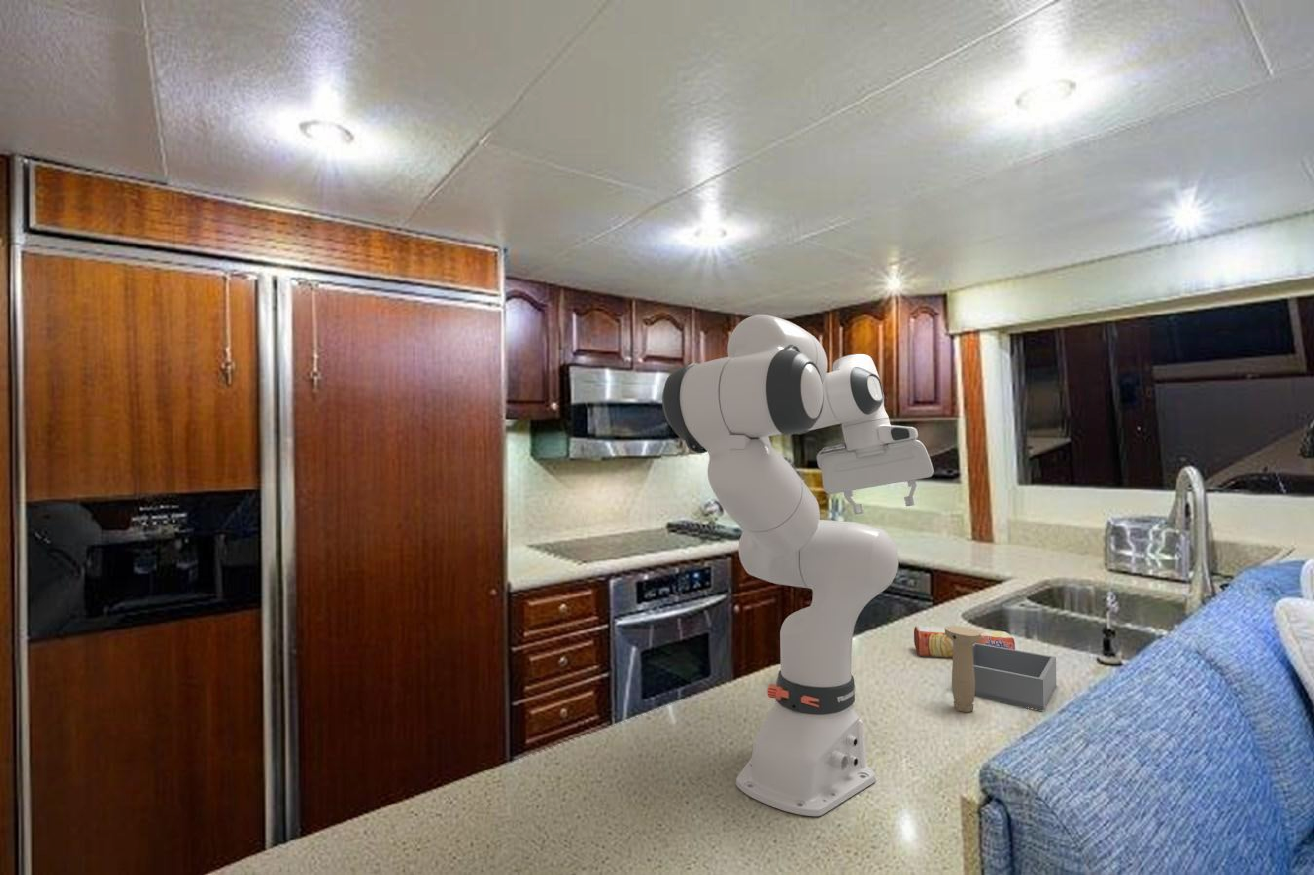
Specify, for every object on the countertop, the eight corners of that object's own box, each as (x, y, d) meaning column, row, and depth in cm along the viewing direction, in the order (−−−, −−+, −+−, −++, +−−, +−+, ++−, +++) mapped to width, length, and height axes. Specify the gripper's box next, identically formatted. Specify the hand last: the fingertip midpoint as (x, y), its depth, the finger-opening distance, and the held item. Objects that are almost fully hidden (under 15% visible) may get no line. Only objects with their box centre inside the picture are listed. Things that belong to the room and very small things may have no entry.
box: (1043, 711, 122) (1042, 679, 122) (952, 691, 132) (952, 662, 132) (1056, 685, 134) (1056, 657, 134) (972, 669, 144) (972, 642, 144)
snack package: (1008, 655, 154) (1008, 627, 154) (1017, 665, 147) (1016, 635, 147) (913, 650, 158) (912, 622, 158) (917, 659, 152) (917, 630, 152)
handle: (956, 701, 127) (955, 624, 127) (987, 713, 121) (986, 633, 121) (940, 706, 125) (939, 628, 125) (970, 718, 119) (969, 637, 119)
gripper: (812, 449, 125) (826, 519, 124) (923, 426, 118) (941, 501, 116) (817, 449, 131) (831, 517, 129) (924, 428, 123) (940, 500, 122)
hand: (884, 510), depth 123 cm, fingers open, 8 cm apart
